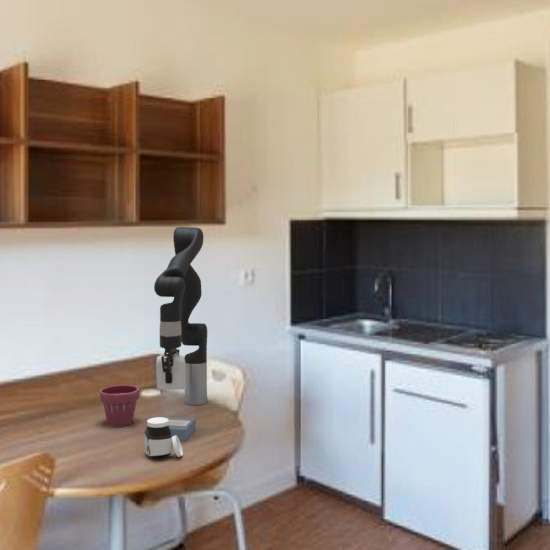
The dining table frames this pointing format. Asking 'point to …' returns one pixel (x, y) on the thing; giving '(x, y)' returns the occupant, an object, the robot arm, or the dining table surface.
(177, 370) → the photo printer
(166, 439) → the spread jar
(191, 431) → the base block
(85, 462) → the dining table surface
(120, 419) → the plant pot
